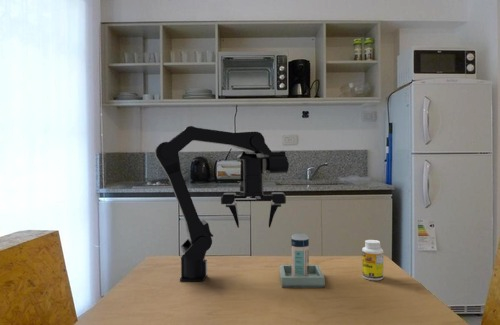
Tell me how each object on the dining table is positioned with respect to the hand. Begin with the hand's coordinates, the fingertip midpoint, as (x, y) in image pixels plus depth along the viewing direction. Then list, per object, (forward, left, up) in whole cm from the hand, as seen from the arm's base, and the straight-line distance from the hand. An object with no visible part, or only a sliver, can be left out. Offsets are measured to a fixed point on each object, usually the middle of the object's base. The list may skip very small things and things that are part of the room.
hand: (253, 227), depth 109 cm
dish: (+13, -8, -13) cm, 20 cm away
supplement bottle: (+33, -6, -13) cm, 36 cm away
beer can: (+13, -8, -13) cm, 20 cm away
